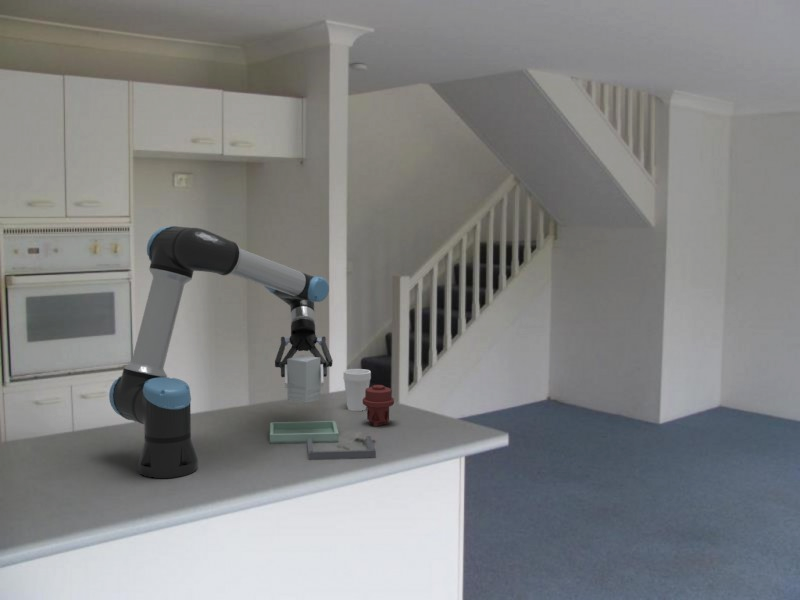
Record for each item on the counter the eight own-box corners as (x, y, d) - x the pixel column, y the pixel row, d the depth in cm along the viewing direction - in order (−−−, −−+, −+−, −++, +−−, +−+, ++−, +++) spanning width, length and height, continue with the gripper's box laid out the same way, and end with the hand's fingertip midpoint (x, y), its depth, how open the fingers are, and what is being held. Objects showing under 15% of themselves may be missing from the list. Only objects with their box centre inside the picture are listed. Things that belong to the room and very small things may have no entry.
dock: (308, 459, 227) (308, 452, 227) (307, 444, 241) (307, 437, 241) (375, 457, 230) (375, 450, 229) (369, 442, 244) (370, 436, 244)
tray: (269, 443, 241) (269, 435, 241) (270, 430, 255) (270, 422, 255) (338, 441, 244) (338, 433, 244) (335, 429, 258) (335, 420, 257)
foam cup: (340, 411, 280) (340, 373, 278) (346, 404, 289) (346, 368, 287) (367, 412, 278) (368, 374, 277) (373, 406, 287) (373, 369, 286)
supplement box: (321, 398, 249) (321, 357, 248) (305, 403, 243) (305, 361, 242) (302, 395, 253) (302, 354, 252) (286, 400, 247) (286, 358, 246)
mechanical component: (396, 421, 269) (390, 429, 259) (366, 418, 271) (359, 426, 261) (397, 383, 267) (390, 390, 257) (367, 381, 269) (359, 388, 259)
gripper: (338, 331, 263) (341, 391, 249) (266, 332, 260) (265, 392, 246) (339, 317, 257) (343, 377, 243) (266, 317, 254) (265, 379, 240)
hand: (304, 385), depth 245 cm, fingers closed on supplement box, 10 cm apart
